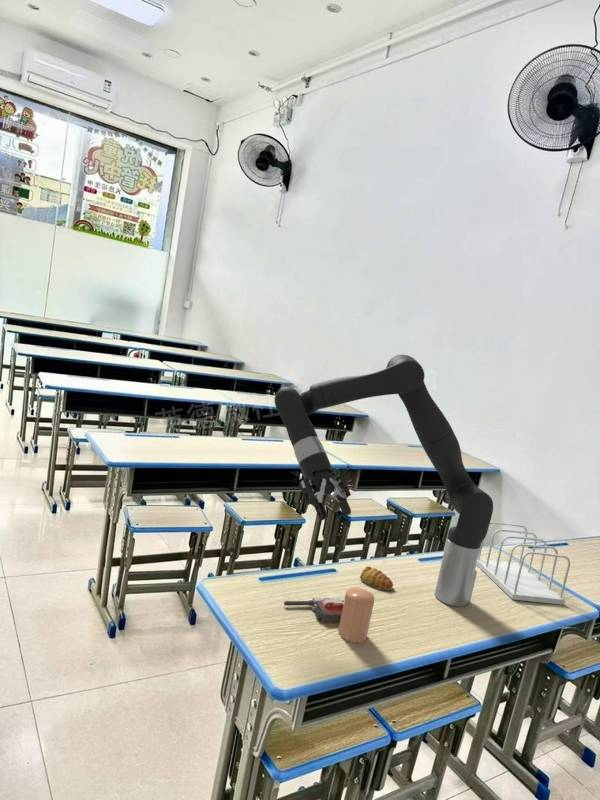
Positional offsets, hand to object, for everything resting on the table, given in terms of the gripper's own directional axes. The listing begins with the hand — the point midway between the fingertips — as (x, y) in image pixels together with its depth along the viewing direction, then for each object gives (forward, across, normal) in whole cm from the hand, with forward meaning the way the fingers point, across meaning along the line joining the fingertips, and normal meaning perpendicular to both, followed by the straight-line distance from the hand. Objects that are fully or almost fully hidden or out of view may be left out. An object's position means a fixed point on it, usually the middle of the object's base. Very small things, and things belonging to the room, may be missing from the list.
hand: (336, 516), depth 133 cm
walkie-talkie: (+19, +1, +17) cm, 26 cm away
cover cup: (+26, 0, +10) cm, 27 cm away
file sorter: (+31, +74, +4) cm, 80 cm away
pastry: (+16, +27, +20) cm, 37 cm away
